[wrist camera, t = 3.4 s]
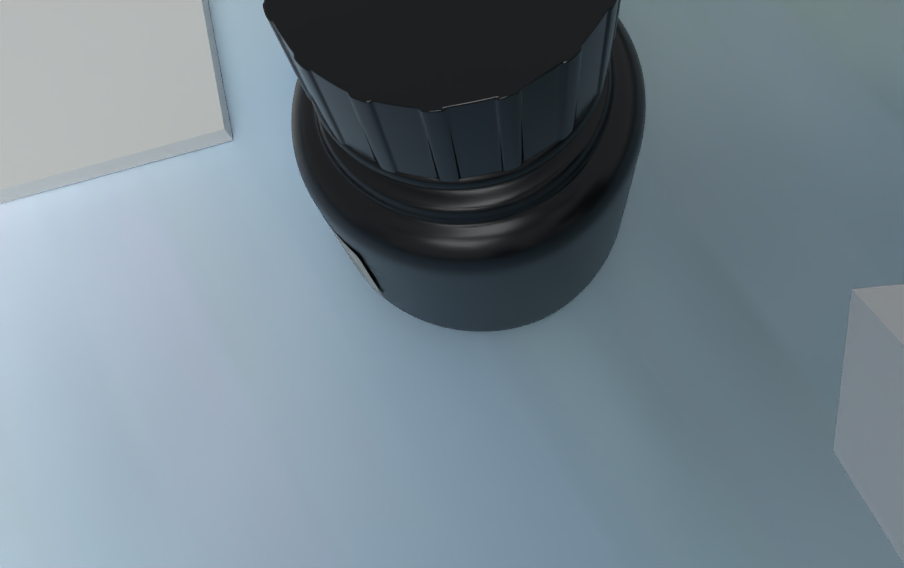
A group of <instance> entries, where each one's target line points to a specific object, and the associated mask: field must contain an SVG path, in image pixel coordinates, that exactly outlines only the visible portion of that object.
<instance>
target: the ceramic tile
mask: <svg viewBox="0 0 904 568" xmlns="http://www.w3.org/2000/svg"><path fill="white" fill-rule="evenodd" d="M232 140H233V137H232V132H231V126H230V121H229V115H228V110H227V104H226V99H225V93H224V88H223V82H222V77H221V71H220V66H219V60H218V55H217V49H216V43H215V38H214V32H213V27H212V21H211V16H210V10H209V5H208V0H0V203H4V202H8V201H11V200H15V199H19V198H22V197H26V196H30V195H33V194H37V193H41V192H44V191H48V190H52V189H55V188H59V187H63V186H67V185H70V184H74V183H78V182H81V181H85V180H89V179H92V178H96V177H100V176H103V175H107V174H111V173H114V172H118V171H122V170H125V169H129V168H133V167H137V166H140V165H144V164H148V163H151V162H155V161H159V160H162V159H166V158H170V157H173V156H177V155H181V154H184V153H188V152H192V151H196V150H199V149H203V148H207V147H210V146H214V145H218V144H221V143H225V142H229V141H232Z"/></svg>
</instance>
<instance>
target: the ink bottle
mask: <svg viewBox="0 0 904 568" xmlns="http://www.w3.org/2000/svg"><path fill="white" fill-rule="evenodd" d="M620 2H621V0H264V3H263V9H264V12H265V15H266V17H267V19H268V21H269V23H270V25H271V27H272V29H273V31H274V33H275V35H276V37H277V39H278V41H279V42H280V44H281V46H282V48H283V50H284V52H285V54H286V56H287V58H288V60H289V62H290V64H291V66H292V68H293V70H294V72H295V73H296V75H297V77H298V79H297V83H296V87H295V92H294V97H293V104H292V139H293V147H294V152H295V157H296V161H297V164H298V168H299V171H300V174H301V176H302V179H303V181H304V183H305V186H306V188H307V190H308V192H309V194H310V196H311V197H312V199H313V201H314V202H315V204H316V206H317V207H318V209H319V210H320V212H321V214H322V215H323V217H324V218H325V220H326V221H327V223H328V224H329V226H330V227H331V229H332V231H333V232H334V234H335V235H336V237H337V238H338V240H339V241H340V243H341V244H342V246H343V247H344V249H345V250H346V252H347V253H348V255H349V256H350V258H351V259H352V261H353V262H354V264H355V265H356V267H357V268H358V270H359V271H360V272H361V274H362V275H363V276H364V278H365V279H366V280H367V281H368V282H369V284H370V285H371V286H372V287H373V288H374V289H375V290H376V291H377V292H378V293H379V294H380V295H381V296H383V297H384V298H385V299H387V300H388V301H389V302H390V303H392V304H393V305H395V306H396V307H398V308H399V309H401V310H403V311H404V312H406V313H408V314H410V315H412V316H414V317H416V318H418V319H421V320H423V321H426V322H429V323H432V324H435V325H438V326H442V327H446V328H451V329H456V330H464V331H500V330H507V329H512V328H517V327H521V326H524V325H528V324H531V323H534V322H536V321H539V320H541V319H543V318H545V317H547V316H549V315H551V314H553V313H555V312H556V311H558V310H560V309H561V308H562V307H564V306H565V305H567V304H568V303H569V302H571V301H572V300H573V299H574V298H575V297H576V296H577V295H578V294H580V293H581V292H582V291H583V290H584V289H585V287H586V286H587V285H588V284H589V283H590V282H591V281H592V279H593V278H594V277H595V275H596V274H597V273H598V271H599V270H600V268H601V267H602V265H603V264H604V262H605V260H606V258H607V257H608V255H609V253H610V251H611V249H612V246H613V244H614V242H615V239H616V236H617V233H618V230H619V227H620V223H621V220H622V216H623V212H624V208H625V205H626V201H627V197H628V193H629V189H630V186H631V182H632V178H633V174H634V171H635V167H636V163H637V159H638V156H639V152H640V148H641V143H642V138H643V132H644V125H645V111H646V99H645V86H644V79H643V74H642V69H641V65H640V61H639V58H638V55H637V52H636V49H635V47H634V45H633V42H632V40H631V38H630V36H629V34H628V32H627V31H626V29H625V27H624V26H623V24H622V22H621V21H620V20H619V18H618V14H619V8H620Z"/></svg>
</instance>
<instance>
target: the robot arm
mask: <svg viewBox="0 0 904 568" xmlns="http://www.w3.org/2000/svg"><path fill="white" fill-rule="evenodd" d="M833 452H834V453H835V455H836V457H837V458H838V460H839V461H840V463H841V465H842V466H843V468H844V469H845V471H846V473H847V474H848V476H849V477H850V479H851V480H852V482H853V484H854V485H855V487H856V488H857V490H858V492H859V493H860V495H861V496H862V498H863V500H864V501H865V503H866V504H867V506H868V507H869V509H870V511H871V512H872V514H873V515H874V517H875V519H876V520H877V522H878V523H879V525H880V527H881V528H882V530H883V531H884V533H885V535H886V536H887V538H888V539H889V541H890V542H891V544H892V546H893V547H894V549H895V550H896V552H897V554H898V555H899V557H900V558H901V560H902V562H903V563H904V284H899V285H888V286H878V287H867V288H857V289H852V292H851V301H850V310H849V318H848V327H847V336H846V344H845V353H844V362H843V371H842V379H841V388H840V397H839V405H838V414H837V423H836V431H835V440H834V449H833Z"/></svg>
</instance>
